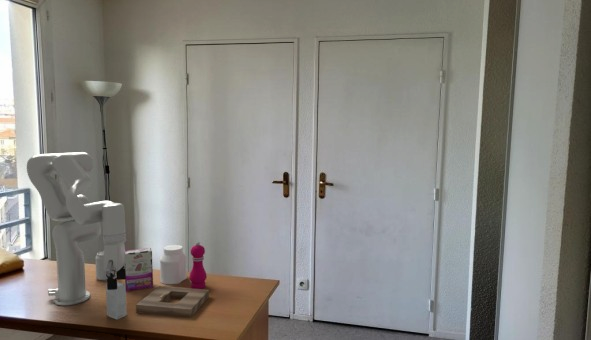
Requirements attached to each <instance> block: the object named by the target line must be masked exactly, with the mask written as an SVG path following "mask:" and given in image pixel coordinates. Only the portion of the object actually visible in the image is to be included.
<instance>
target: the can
mask: <svg viewBox="0 0 591 340" xmlns="http://www.w3.org/2000/svg"><path fill="white" fill-rule="evenodd" d="M94 259H95V278H96V279H97V280H98V281H101V282H103V281H107V279H106V277H107V276H106V272H104V250H102V251H99V252H97V253H96V256H95V258H94ZM111 270H114V269H111ZM111 273H113V275H114V272H111Z"/></svg>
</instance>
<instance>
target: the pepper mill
mask: <svg viewBox="0 0 591 340" xmlns="http://www.w3.org/2000/svg"><path fill="white" fill-rule="evenodd" d="M205 252H206V249H205V247H204V246H203V245H201V242H199V241H196V242H195V245H193V246H192V247H191V248H190V254H191V261H192V268H191V270H190V273H189V280H190V288H191V289H204V288H206V284H207V283H206V280H207V276H208V275H207V272H206V270H205V267H204V262H203V261H204V259H205V257H204V255H205Z"/></svg>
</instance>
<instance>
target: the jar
mask: <svg viewBox="0 0 591 340" xmlns="http://www.w3.org/2000/svg"><path fill="white" fill-rule="evenodd" d="M183 249H184V248H183V245H179V244H169V245H165V246H164V247H163V254H162V255H161V256H160V258H159V265H160V266H159V269H160V270H159V271H160V272H159V273H160V274H159V275H160V276H159V277H160V279H159V281H160V283H162V284H164V285H170V286H171V285H179V284H181V282H182V281H183V282H184V281H185V280H186V279H187V278H188V276H187V272H188V271H187V267H188V266H187V259H188V257H187V256H186V254H185V253H184V250H183Z"/></svg>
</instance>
